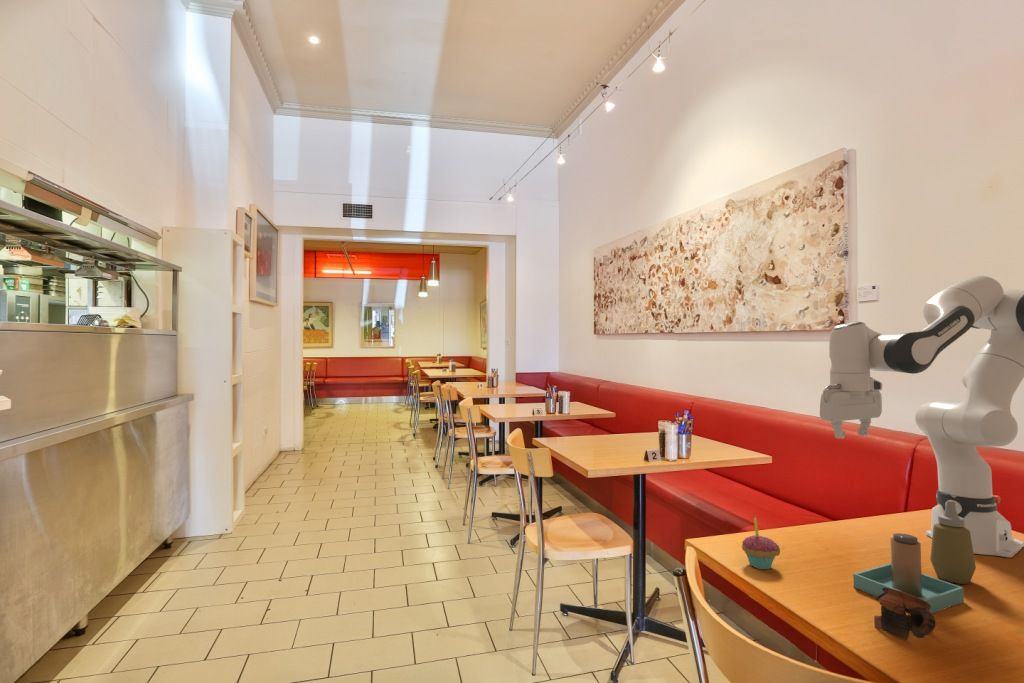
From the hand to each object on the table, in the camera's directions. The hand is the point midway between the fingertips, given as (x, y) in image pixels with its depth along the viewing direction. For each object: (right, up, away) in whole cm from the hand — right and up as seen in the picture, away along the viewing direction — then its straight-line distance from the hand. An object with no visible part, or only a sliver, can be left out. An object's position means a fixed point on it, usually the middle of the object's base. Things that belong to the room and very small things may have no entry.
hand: (851, 436), depth 132 cm
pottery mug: (-14, -30, -36) cm, 50 cm away
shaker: (-3, -30, -22) cm, 37 cm away
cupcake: (-27, -31, -6) cm, 42 cm away
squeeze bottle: (+14, -31, -14) cm, 37 cm away
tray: (-3, -30, -22) cm, 38 cm away
